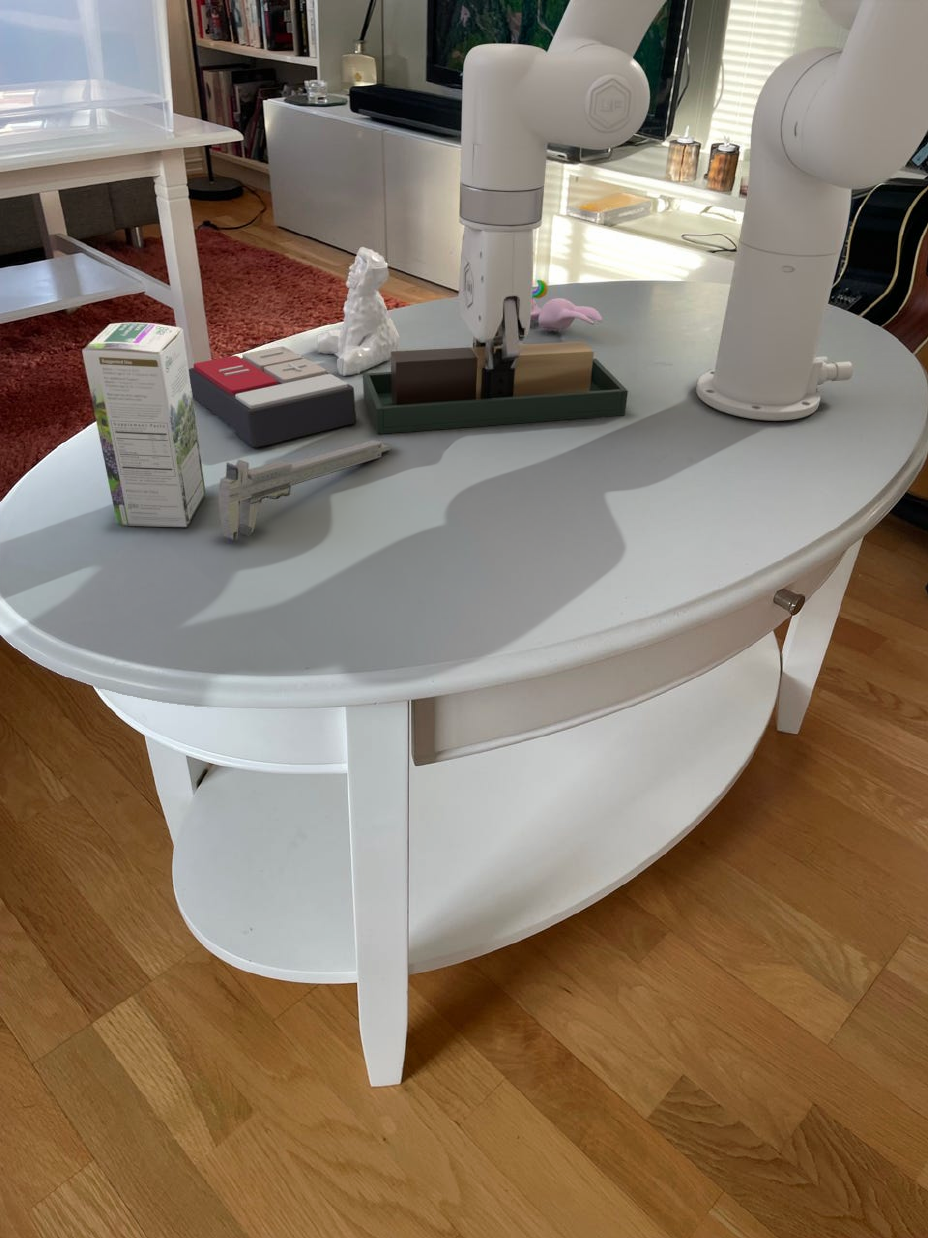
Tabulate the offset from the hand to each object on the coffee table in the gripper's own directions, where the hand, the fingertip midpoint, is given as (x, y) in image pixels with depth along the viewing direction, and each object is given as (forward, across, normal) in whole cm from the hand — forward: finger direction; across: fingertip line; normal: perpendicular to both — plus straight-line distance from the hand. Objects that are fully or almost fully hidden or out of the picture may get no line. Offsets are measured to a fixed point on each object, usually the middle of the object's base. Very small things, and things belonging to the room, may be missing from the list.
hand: (491, 397), depth 94 cm
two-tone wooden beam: (0, 0, 0) cm, 0 cm away
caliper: (+1, +15, -20) cm, 25 cm away
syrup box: (+1, +16, -32) cm, 36 cm away
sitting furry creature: (+1, -16, -11) cm, 19 cm away
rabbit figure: (+1, -22, +13) cm, 26 cm away
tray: (+1, 0, 0) cm, 1 cm away
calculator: (+1, -3, -22) cm, 22 cm away
